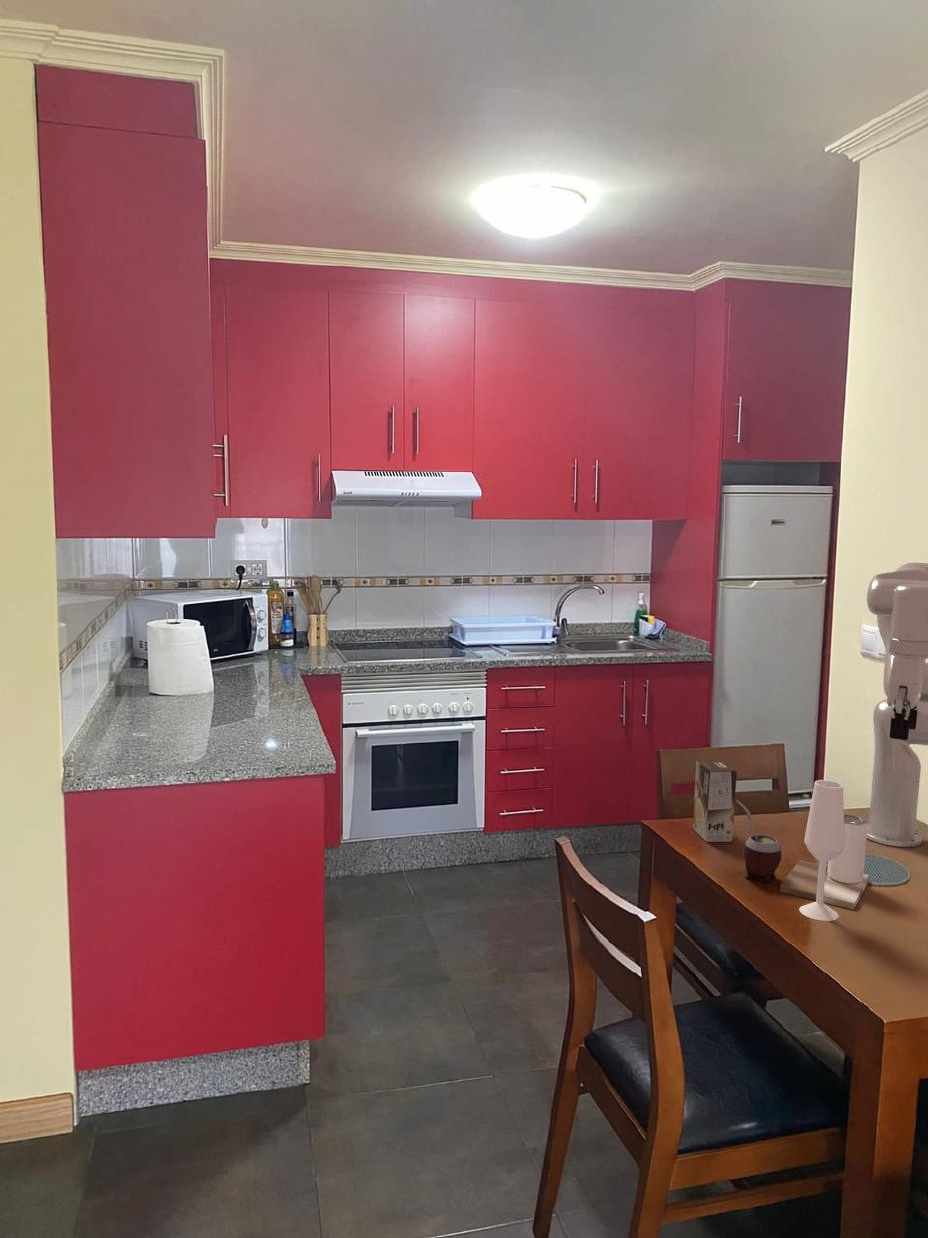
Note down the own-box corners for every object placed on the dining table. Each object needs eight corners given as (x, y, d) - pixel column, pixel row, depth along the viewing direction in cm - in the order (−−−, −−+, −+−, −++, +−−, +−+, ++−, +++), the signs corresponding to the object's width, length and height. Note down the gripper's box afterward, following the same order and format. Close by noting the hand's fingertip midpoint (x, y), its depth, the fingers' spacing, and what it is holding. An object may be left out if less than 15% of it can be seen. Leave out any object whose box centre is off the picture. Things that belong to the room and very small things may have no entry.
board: (799, 865, 186) (799, 859, 186) (868, 881, 179) (869, 875, 179) (779, 891, 172) (780, 885, 172) (853, 909, 165) (854, 903, 165)
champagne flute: (845, 914, 163) (856, 785, 160) (826, 924, 159) (837, 792, 156) (811, 901, 168) (821, 776, 165) (791, 910, 164) (801, 782, 161)
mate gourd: (786, 884, 176) (792, 809, 174) (749, 886, 174) (754, 811, 173) (765, 869, 183) (770, 797, 181) (730, 871, 182) (735, 799, 180)
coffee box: (733, 842, 198) (738, 771, 196) (705, 842, 197) (710, 771, 195) (717, 827, 207) (722, 759, 205) (690, 828, 206) (695, 759, 204)
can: (858, 888, 172) (863, 827, 171) (823, 879, 176) (828, 819, 174) (866, 877, 177) (871, 818, 176) (831, 869, 181) (836, 811, 180)
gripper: (896, 640, 185) (889, 721, 187) (881, 652, 171) (873, 740, 173) (937, 644, 181) (930, 727, 183) (925, 656, 166) (917, 746, 169)
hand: (902, 733), depth 178 cm, fingers open, 9 cm apart
